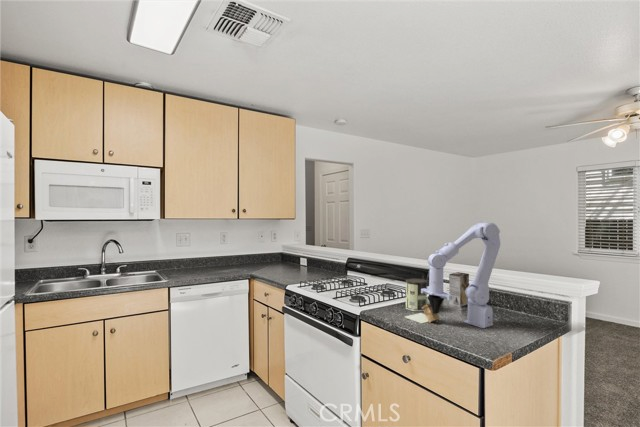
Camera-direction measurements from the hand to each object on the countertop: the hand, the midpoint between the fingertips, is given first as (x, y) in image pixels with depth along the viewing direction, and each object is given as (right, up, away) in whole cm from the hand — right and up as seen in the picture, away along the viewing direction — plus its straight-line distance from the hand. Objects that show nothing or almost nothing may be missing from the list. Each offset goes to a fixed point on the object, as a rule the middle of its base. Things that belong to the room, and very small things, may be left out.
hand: (435, 313), depth 148 cm
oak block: (0, -3, +1) cm, 3 cm away
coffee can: (-2, -4, +22) cm, 22 cm away
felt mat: (-4, -4, +6) cm, 9 cm away
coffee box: (+22, -4, +30) cm, 37 cm away
